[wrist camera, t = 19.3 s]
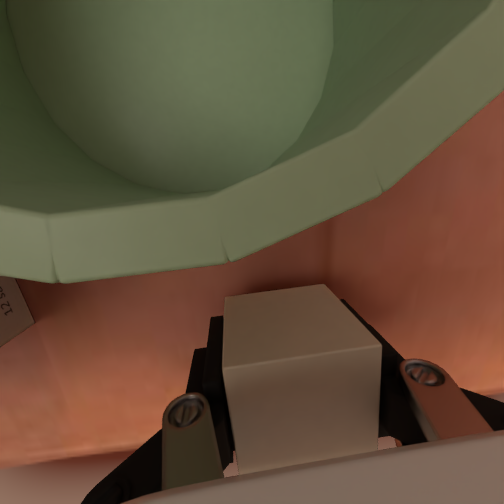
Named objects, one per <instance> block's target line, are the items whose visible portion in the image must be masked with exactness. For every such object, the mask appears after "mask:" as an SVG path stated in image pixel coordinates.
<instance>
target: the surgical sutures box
mask: <svg viewBox="0 0 504 504" xmlns="http://www.w3.org/2000/svg"><path fill="white" fill-rule="evenodd" d="M34 323H35V322H34V320H33V318H32V316H31V313H30V311H29V309H28V307H27V304H26V302H25V300H24V298H23V296H22V293H21V291H20V289H19V287H18V284H17V282H16V280H15V278H13V277H7V276H0V347H1V346H3V345H4V344H6V343H7V342H9V341H10V340H11V339H13V338H14V337H16V336H17V335H19V334H20V333H21V332H23V331H24V330H26V329H27V328H29V327H30V326H32V325H33V324H34Z"/></svg>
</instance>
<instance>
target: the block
mask: <svg viewBox="0 0 504 504" xmlns="http://www.w3.org/2000/svg"><path fill="white" fill-rule="evenodd" d="M381 359H382V345H381V343H380V342H379V341H378V340H377V339H376V338H375V337H374V336H373V335H372V334H371V333H370V332H369V331H368V330H367V329H366V327H365V326H364V325H363V324H362V323H361V322H360V321H359V320H358V319H357V318H356V317H355V316H354V315H353V314H352V313H351V312H350V311H349V310H348V308H347V307H346V306H345V305H344V304H343V303H342V302H341V301H340V300H339V299H338V298H337V297H336V296H335V295H334V294H333V293H332V292H331V291H330V289H329V288H328V287H327V286H326V285H325V284H319V285H311V286H304V287H296V288H289V289H281V290H274V291H266V292H258V293H251V294H243V295H236V296H228V297H225V300H224V328H223V356H222V372H223V378H224V384H225V391H226V397H227V403H228V409H229V415H230V421H231V428H232V434H233V440H234V446H235V452H236V459H237V465H238V470H239V475H242V474H248V473H253V472H259V471H264V470H270V469H275V468H281V467H286V466H292V465H297V464H303V463H309V462H314V461H320V460H326V459H331V458H337V457H343V456H349V455H354V454H360V453H366V452H372V451H377V450H378V429H379V406H380V383H381Z"/></svg>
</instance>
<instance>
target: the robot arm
mask: <svg viewBox="0 0 504 504" xmlns="http://www.w3.org/2000/svg"><path fill="white" fill-rule="evenodd" d="M340 301H341V302H342V303H343V304H344V305H345V306H346V307H347V308H348V310H349V311H350V312H351V313H352V314H353V315H354V316H355V317H356V318H357V319H358V320H359V321H360V322H361V323H362V324H363V325H364V326H365V327H366V329H367V330H368V331H369V332H370V333H371V334H372V335H373V336H374V337H375V338H376V339H377V340H378V341H379V342H380V343H381V345H382V359H381V383H380V406H379V429H378V438H379V437H385V436H391V437H393V438H395V442H396V446H397V447H395V448H389V449H383V450H377V451H372V452H366V453H360V454H354V455H349V456H343V457H337V458H331V459H326V460H320V461H314V462H309V463H303V464H297V465H292V466H286V467H281V468H275V469H270V470H264V471H259V472H253V473H248V474H242V475H237V476H231V477H226V478H224V474H223V471H224V470H225V468H226V467H227V466H228V465H229V463H233V451H235V446H234V440H233V434H232V428H231V421H230V415H229V409H228V403H227V397H226V391H225V384H224V378H223V372H222V356H223V328H224V318H223V316H216V317H211V320H210V327H209V335H208V342H207V347H206V348H199V349H195V351H194V355H193V360H192V364H191V369H190V374H189V379H188V384H187V389H186V394H183V395H181V396H179V397H177V398H176V399H174V400H173V401H172V402H171V403H170V404H169V405H168V406H167V407H166V409H165V411H164V413H163V418H162V429H161V430H159V431H158V432H157V433H156V434H155V435H154V436H152V437H151V438H150V439H149V440H148V441H147V442H146V443H144V444H143V445H142V446H141V447H140V448H139V449H137V450H136V451H135V452H134V453H133V454H132V455H131V456H129V457H128V458H127V459H126V460H125V461H124V462H122V463H121V464H120V465H119V466H118V467H117V468H116V469H114V470H113V471H112V472H111V473H110V474H109V475H108V476H106V477H105V478H104V479H103V480H102V481H100V482H99V483H98V484H97V485H96V486H95V487H94V488H93V489H92V490H91V491H90V492H89V493H88V494H87V496H86V497H85V498H84V500H83V501H82V503H81V504H504V403H503V402H500V401H497V400H494V399H491V398H488V397H486V396H483V395H480V394H477V393H474V392H471V391H468V390H465V389H462V388H459V387H458V385H457V384H456V383H455V382H454V380H453V379H452V378H451V377H450V375H449V374H448V373H447V372H446V371H445V370H444V369H443V368H441V367H440V366H438V365H436V364H434V363H432V362H430V361H426V360H422V359H407V360H405V359H404V358H403V357H402V356H401V355H400V354H399V353H398V352H397V351H396V350H395V349H394V348H393V347H392V346H391V345H390V344H389V343H388V342H387V341H386V340H385V339H384V338H383V337H382V336H381V335H380V334H379V333H378V332H377V331H376V330H375V329H374V328H373V327H372V326H371V325H369V324H368V323H367V322H366V321H365V320H364V319H363V318H362V317H361V316H360V315H359V314H358V313H357V312H356V311H355V310H354V309H353V308H352V307H351V306H350V305H349V304H348V303H347V302H346V301H345V300H344V299H340Z"/></svg>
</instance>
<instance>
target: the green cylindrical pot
mask: <svg viewBox="0 0 504 504" xmlns="http://www.w3.org/2000/svg"><path fill="white" fill-rule="evenodd" d="M503 90H504V0H0V276H7V277H13V278H20V279H26V280H33V281H39V282H46V283H58V282H60V283H76V282H84V281H92V280H100V279H108V278H116V277H124V276H132V275H141V274H149V273H157V272H165V271H173V270H181V269H189V268H197V267H205V266H213V265H221V264H225V263H227V262H228V260H229V261H230V262H235V261H237V260H240V259H242V258H244V257H246V256H248V255H251V254H253V253H255V252H257V251H259V250H262V249H264V248H266V247H268V246H271V245H273V244H275V243H277V242H279V241H282V240H284V239H286V238H288V237H290V236H293V235H295V234H297V233H299V232H302V231H304V230H306V229H308V228H310V227H313V226H315V225H317V224H319V223H321V222H324V221H326V220H328V219H330V218H332V217H335V216H337V215H339V214H341V213H344V212H346V211H348V210H350V209H352V208H355V207H357V206H359V205H361V204H363V203H366V202H368V201H370V200H372V199H375V198H377V197H379V196H380V195H381V194H382V192H385V191H387V190H389V189H390V188H391V187H392V186H393V185H394V184H396V183H397V182H398V181H399V180H400V179H401V178H403V177H404V176H405V175H406V174H407V173H408V172H410V171H411V170H412V169H413V168H414V167H415V166H416V165H418V164H419V163H420V162H421V161H422V160H423V159H425V158H426V157H427V156H428V155H429V154H430V153H432V152H433V151H434V150H435V149H436V148H437V147H439V146H440V145H441V144H442V143H443V142H444V141H445V140H447V139H448V138H449V137H450V136H451V135H452V134H454V133H455V132H456V131H457V130H458V129H459V128H461V127H462V126H463V125H464V124H465V123H466V122H468V121H469V120H470V119H471V118H472V117H473V116H474V115H476V114H477V113H478V112H479V111H480V110H481V109H483V108H484V107H485V106H486V105H487V104H488V103H490V102H491V101H492V100H493V99H494V98H495V97H497V96H498V95H499V94H500V93H501V92H502V91H503Z"/></svg>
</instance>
